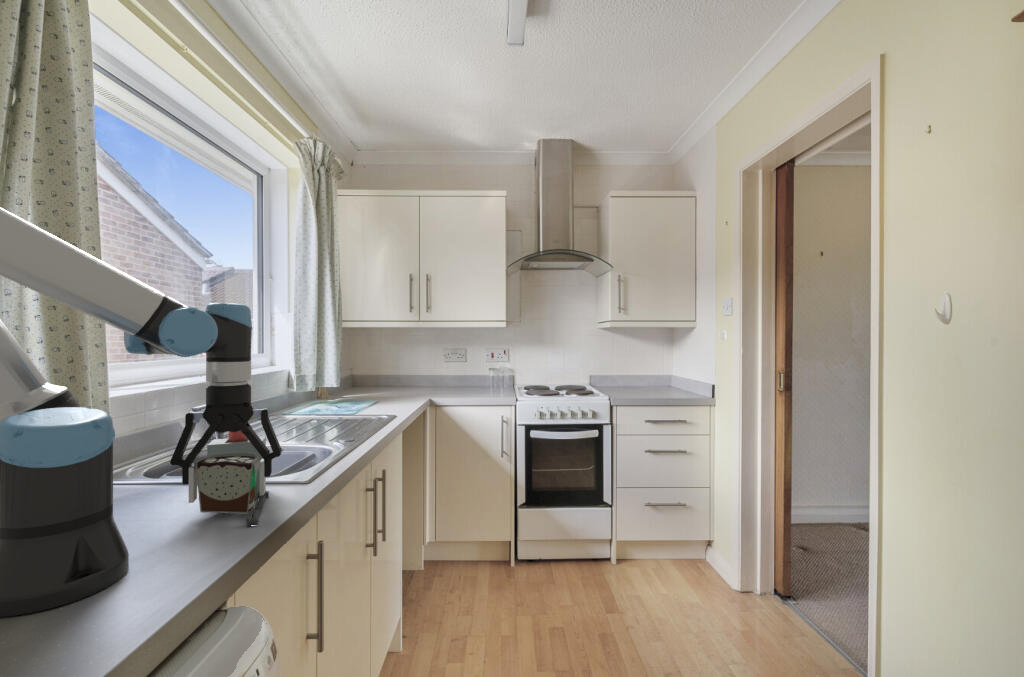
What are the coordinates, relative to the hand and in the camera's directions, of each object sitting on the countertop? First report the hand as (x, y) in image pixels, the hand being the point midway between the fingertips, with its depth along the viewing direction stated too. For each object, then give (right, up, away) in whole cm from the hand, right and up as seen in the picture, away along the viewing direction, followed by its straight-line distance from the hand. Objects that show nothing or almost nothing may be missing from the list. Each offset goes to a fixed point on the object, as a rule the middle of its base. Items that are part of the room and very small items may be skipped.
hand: (228, 496), depth 91 cm
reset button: (-3, +9, +9) cm, 13 cm away
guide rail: (+5, -3, +1) cm, 6 cm away
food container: (+2, -2, 0) cm, 3 cm away
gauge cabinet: (-3, -3, +9) cm, 10 cm away
